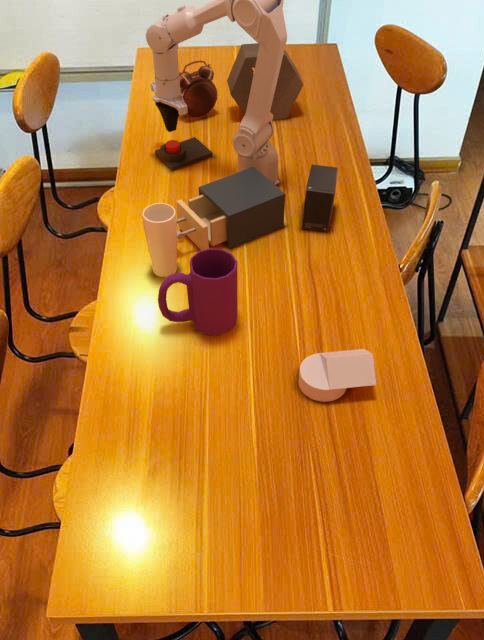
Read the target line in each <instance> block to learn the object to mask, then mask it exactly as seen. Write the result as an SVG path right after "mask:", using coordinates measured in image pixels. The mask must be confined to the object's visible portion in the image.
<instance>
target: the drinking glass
mask: <svg viewBox="0 0 484 640" xmlns="http://www.w3.org/2000/svg"><path fill="white" fill-rule="evenodd" d="M177 219H178V218H177V211H176V209H175V208H174V206H173V205H171V204H170V203H169V204H168V203H165V202H155V203H151V204H149V205H148V206H146V207H145V208H143V210H142V223H143V231H144V236H145V240H146V244H147V248H148V253H149V257H150V261H151V262H150V263H151V269H152V272H153V273H154V274H155V276H157V277H159V278H166V277H168V276H169V275H171V274H175V273H177V272H178V271H177V270H178V239H177V228H178V223H177Z"/></svg>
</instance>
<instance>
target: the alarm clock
mask: <svg viewBox="0 0 484 640" xmlns="http://www.w3.org/2000/svg"><path fill="white" fill-rule="evenodd" d="M198 63H200V64H201V63H203V64H204V65H202V66H200V67H199V68H198V70H197V71H193V72H191V73H190V72H189V71H187V70H186V69H187V68H188V67H189V66H192V65H193V64H198ZM214 76H215V72H214V70H213V67H211V64H210V63H208V64H207V63H206V61H204V60H195V61H191V62H189V63H187V64H185V65H184V67H183V69H182V71H179V79H180V91H181V94H182V96H183V99H184V102H185V104H186V105H187V110H188V113H187V114H184V115H183V116H184V118H186V117H187V115H188V116H189V119H188V120H189V121H192V118H196V119H197V118H202V117H204V116H207V115H208V116H211V115H212V114H211V113H210V112H211V111H212V110H213V109H214V107H215V106H216V104H217V101H218V89H217V87H216V85H215V83H214V82H213V80H214Z"/></svg>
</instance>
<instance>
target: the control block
mask: <svg viewBox="0 0 484 640" xmlns="http://www.w3.org/2000/svg"><path fill="white" fill-rule="evenodd" d="M178 142H179V143H180V151H179V152H177V153H168V152H166V145H165V144H166V142H165V143H163V144H162V145H161V146H160V147H159V148H158V149H156V150H154V155H155V156H156V157H157V158H158V159H159V160H160V161H161V162H162V163H163V164H164V165H166V167H167V168H168V169H170V171H171V172H173V171H177V170H179V169H182V168H185V167H187V166H190V165H193V164H197V163H199V162H202V161H204V160H208V159H210V158H213V152H212V150H211V149H210V148H208V147H207V146H206V145H204V144H203V143H202V142H201V140H199V139H198V138H197V137H195V136H193V137H191V138H188V139H185V140H182V141H178Z"/></svg>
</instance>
